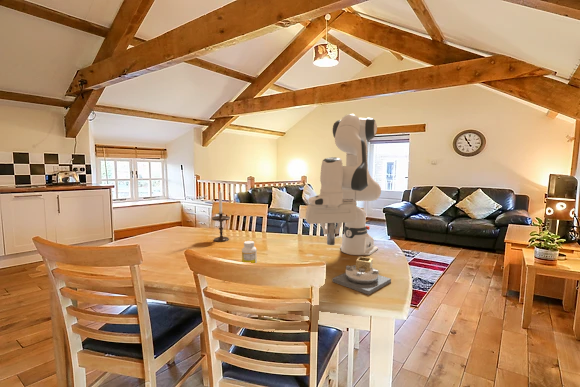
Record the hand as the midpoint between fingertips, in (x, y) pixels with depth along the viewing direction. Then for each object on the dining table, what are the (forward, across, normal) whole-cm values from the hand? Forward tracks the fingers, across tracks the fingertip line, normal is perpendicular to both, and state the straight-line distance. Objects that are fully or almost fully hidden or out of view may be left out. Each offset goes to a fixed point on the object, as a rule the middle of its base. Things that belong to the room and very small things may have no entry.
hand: (330, 233), depth 119 cm
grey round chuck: (+19, -14, 0) cm, 24 cm away
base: (+21, -14, 0) cm, 25 cm away
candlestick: (+21, +47, -78) cm, 93 cm away
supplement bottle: (+21, +32, -23) cm, 44 cm away
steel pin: (+4, 0, 0) cm, 4 cm away
